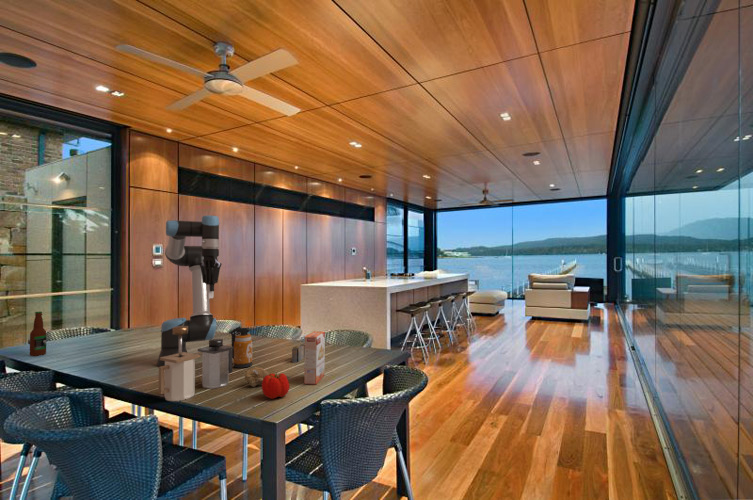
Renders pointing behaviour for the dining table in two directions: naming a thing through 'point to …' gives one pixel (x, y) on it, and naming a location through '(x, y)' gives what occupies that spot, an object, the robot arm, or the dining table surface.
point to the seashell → (255, 376)
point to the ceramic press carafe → (178, 376)
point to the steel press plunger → (215, 343)
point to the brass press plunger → (180, 335)
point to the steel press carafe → (216, 366)
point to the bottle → (38, 337)
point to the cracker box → (314, 357)
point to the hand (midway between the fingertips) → (210, 298)
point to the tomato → (275, 385)
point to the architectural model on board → (298, 353)
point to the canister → (241, 347)
